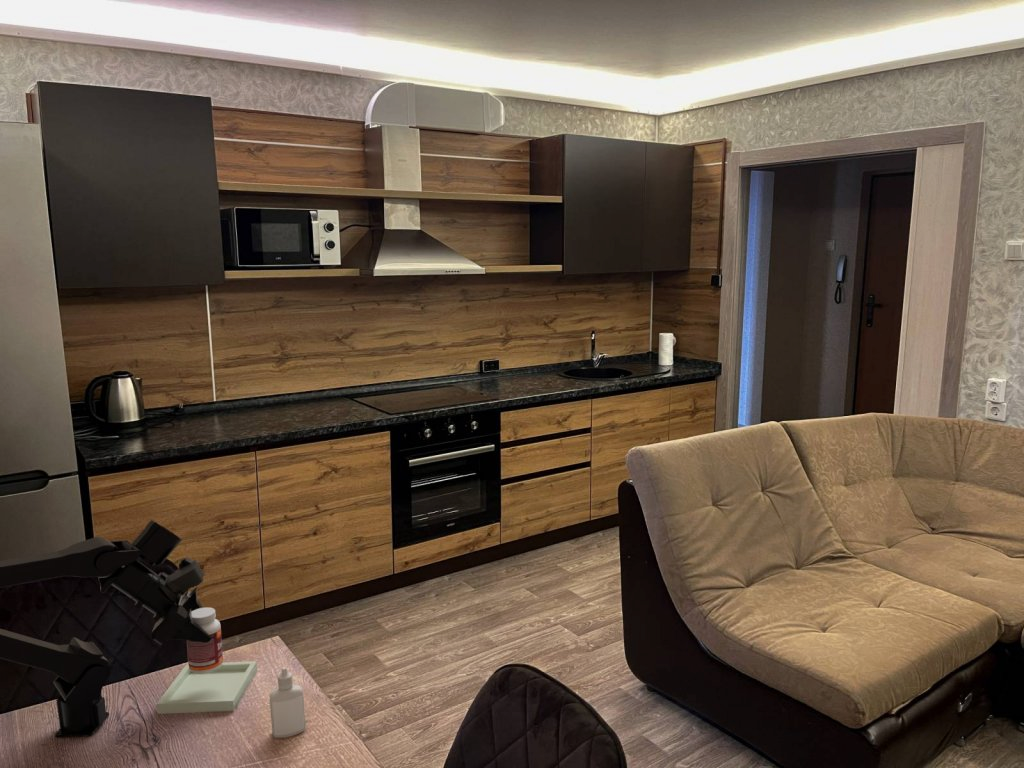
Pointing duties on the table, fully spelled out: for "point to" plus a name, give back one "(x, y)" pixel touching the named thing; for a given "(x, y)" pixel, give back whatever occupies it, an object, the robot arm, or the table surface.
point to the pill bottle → (202, 653)
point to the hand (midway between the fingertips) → (211, 632)
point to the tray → (208, 689)
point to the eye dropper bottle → (287, 707)
